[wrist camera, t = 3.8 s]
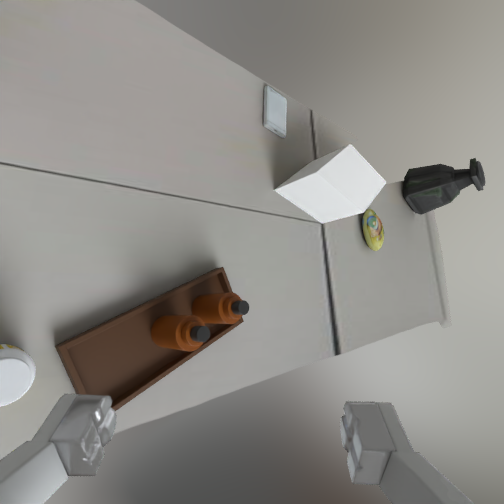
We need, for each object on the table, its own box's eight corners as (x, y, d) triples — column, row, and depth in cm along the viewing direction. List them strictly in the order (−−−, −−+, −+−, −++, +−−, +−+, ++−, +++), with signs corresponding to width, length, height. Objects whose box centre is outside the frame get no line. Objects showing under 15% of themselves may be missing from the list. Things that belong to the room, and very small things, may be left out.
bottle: (414, 217, 153) (488, 200, 131) (400, 198, 144) (477, 177, 122) (416, 189, 160) (485, 169, 139) (402, 170, 152) (474, 145, 130)
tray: (89, 421, 45) (94, 426, 43) (54, 346, 44) (58, 347, 42) (236, 321, 67) (243, 321, 65) (216, 268, 65) (223, 266, 63)
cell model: (369, 251, 108) (376, 209, 105) (352, 247, 115) (359, 207, 112) (388, 251, 114) (396, 211, 111) (371, 247, 120) (378, 209, 117)
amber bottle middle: (157, 353, 53) (195, 361, 44) (145, 324, 53) (181, 326, 44) (183, 337, 57) (223, 341, 48) (172, 310, 56) (211, 308, 47)
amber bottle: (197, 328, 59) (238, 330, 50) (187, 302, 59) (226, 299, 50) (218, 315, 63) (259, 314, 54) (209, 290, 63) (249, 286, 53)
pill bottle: (-41, 398, 37) (-44, 421, 29) (-30, 344, 38) (-31, 352, 30) (23, 390, 41) (35, 408, 33) (30, 342, 42) (44, 348, 34)
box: (267, 154, 83) (308, 131, 72) (342, 167, 110) (380, 152, 100) (280, 226, 82) (324, 213, 71) (353, 221, 109) (392, 211, 99)
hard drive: (267, 84, 85) (267, 123, 82) (287, 99, 90) (287, 136, 87) (263, 88, 86) (262, 125, 83) (283, 102, 92) (282, 138, 89)
